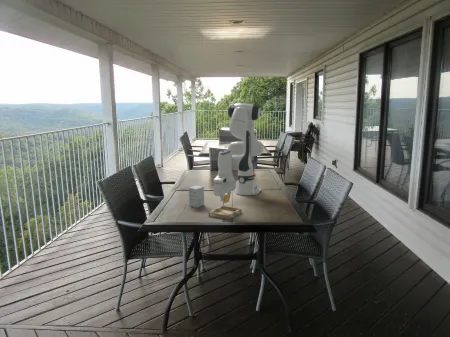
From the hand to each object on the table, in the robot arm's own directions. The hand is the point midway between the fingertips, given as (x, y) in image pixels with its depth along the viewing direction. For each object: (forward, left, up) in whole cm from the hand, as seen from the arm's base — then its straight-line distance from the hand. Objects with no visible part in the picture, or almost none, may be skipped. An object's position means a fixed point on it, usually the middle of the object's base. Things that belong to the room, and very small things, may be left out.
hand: (225, 199), depth 213 cm
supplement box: (-6, -26, -10) cm, 29 cm away
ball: (0, 0, +1) cm, 1 cm away
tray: (0, 0, -9) cm, 9 cm away
